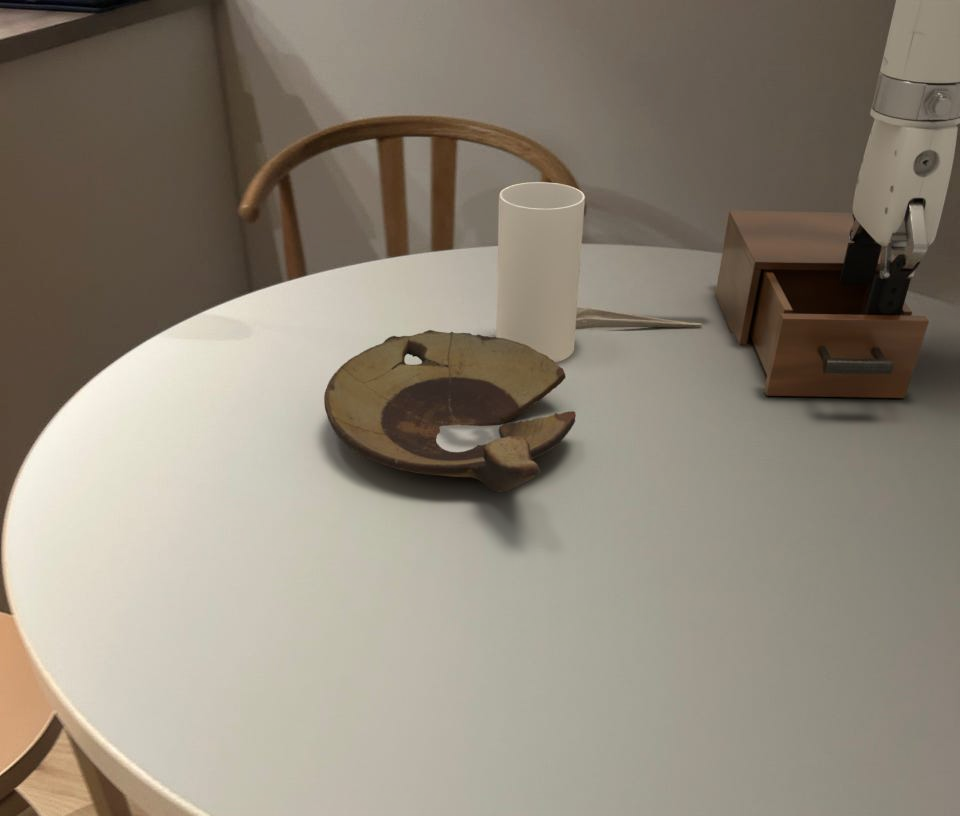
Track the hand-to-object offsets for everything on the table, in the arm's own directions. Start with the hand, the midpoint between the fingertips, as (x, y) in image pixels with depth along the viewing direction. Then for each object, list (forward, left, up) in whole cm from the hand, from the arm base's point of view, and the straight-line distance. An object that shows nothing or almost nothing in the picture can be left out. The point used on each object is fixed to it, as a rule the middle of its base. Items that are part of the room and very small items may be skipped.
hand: (868, 299), depth 96 cm
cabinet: (+3, -13, -8) cm, 16 cm away
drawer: (+3, +1, -7) cm, 8 cm away
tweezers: (+22, -11, -8) cm, 26 cm away
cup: (+32, -4, -8) cm, 33 cm away
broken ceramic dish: (+40, +17, -8) cm, 44 cm away
